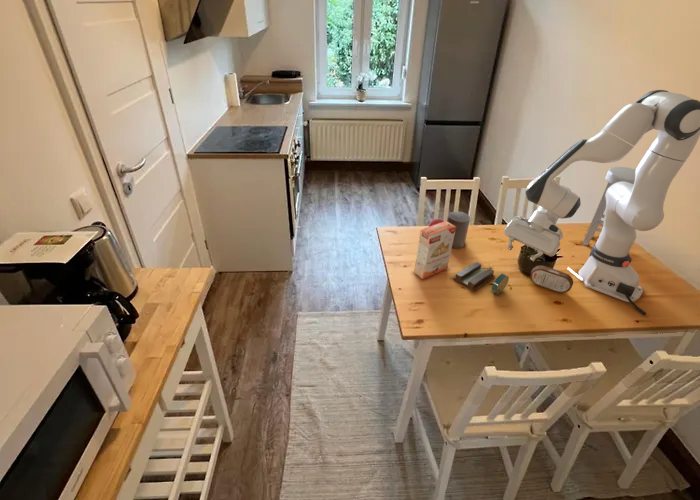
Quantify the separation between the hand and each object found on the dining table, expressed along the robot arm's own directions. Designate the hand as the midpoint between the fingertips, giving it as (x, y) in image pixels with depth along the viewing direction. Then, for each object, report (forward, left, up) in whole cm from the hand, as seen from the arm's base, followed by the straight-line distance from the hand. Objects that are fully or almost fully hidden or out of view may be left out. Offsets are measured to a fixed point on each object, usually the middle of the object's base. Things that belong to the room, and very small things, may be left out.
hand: (519, 254), depth 147 cm
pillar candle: (+33, -6, -13) cm, 36 cm away
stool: (-10, -59, -13) cm, 61 cm away
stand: (+11, +10, -13) cm, 20 cm away
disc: (0, +10, -13) cm, 17 cm away
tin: (-11, -8, -13) cm, 19 cm away
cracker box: (+25, +20, -13) cm, 35 cm away
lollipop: (+35, +6, -13) cm, 38 cm away
